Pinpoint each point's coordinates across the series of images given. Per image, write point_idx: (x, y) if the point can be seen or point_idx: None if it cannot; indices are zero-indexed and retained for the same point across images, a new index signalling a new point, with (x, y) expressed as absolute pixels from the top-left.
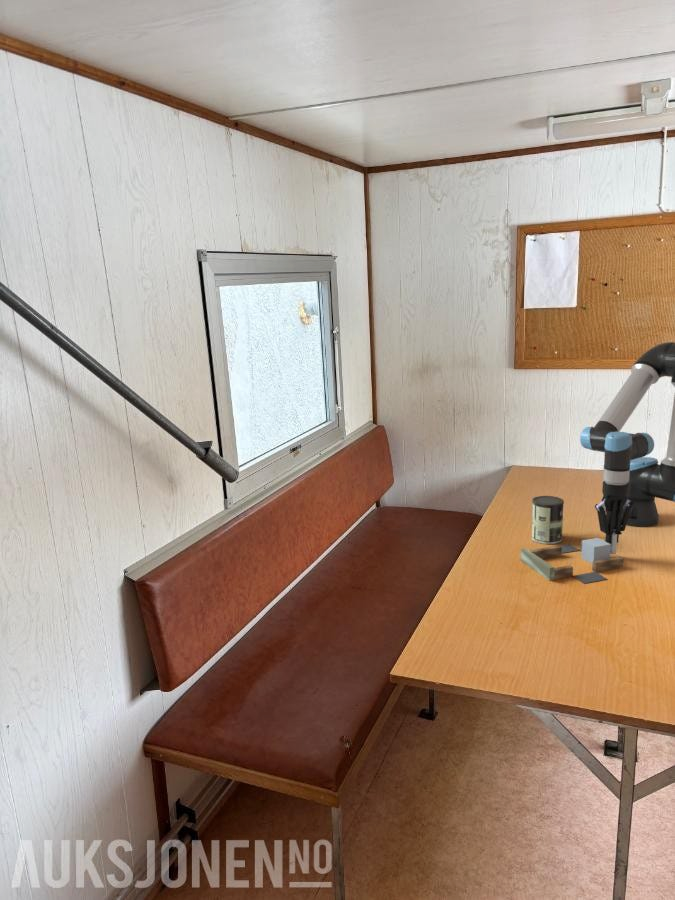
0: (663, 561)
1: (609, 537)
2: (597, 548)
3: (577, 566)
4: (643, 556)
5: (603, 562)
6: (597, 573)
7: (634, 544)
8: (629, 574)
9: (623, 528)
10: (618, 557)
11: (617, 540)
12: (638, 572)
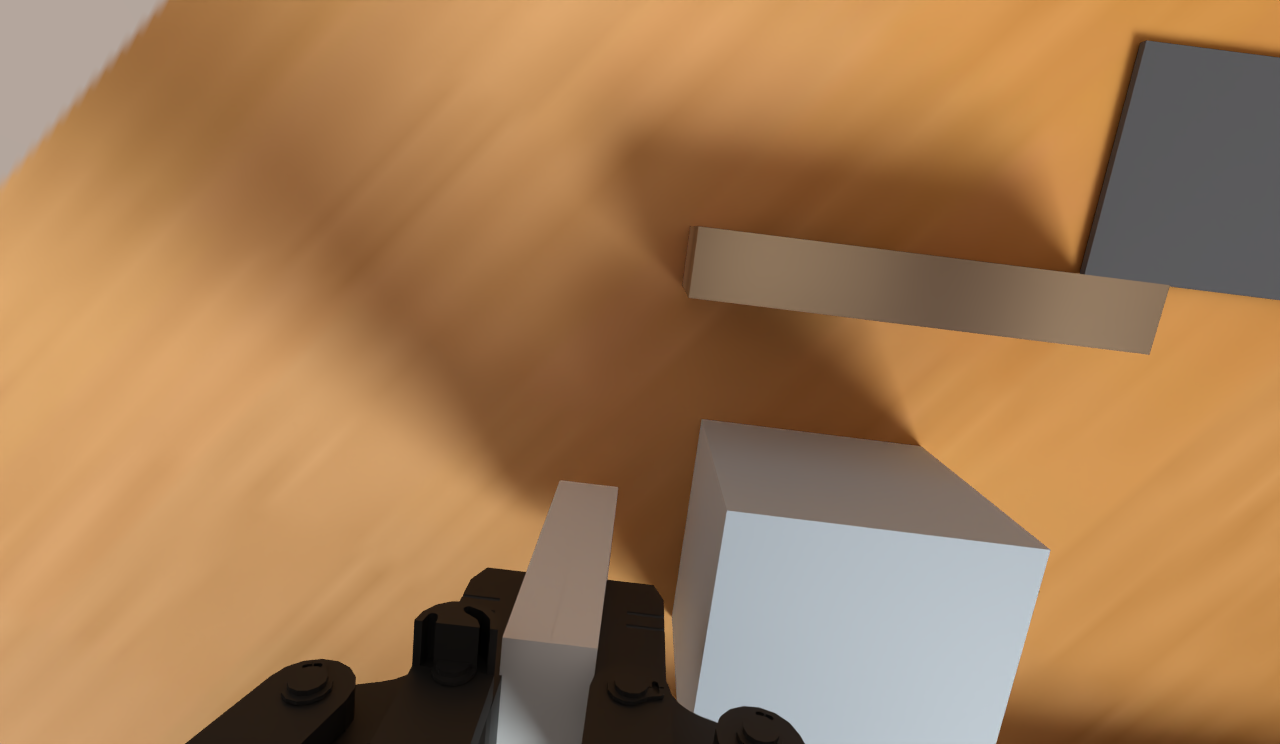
0: (122, 124)
1: (648, 654)
2: (971, 525)
3: (1105, 491)
4: (240, 351)
5: (1035, 269)
6: (1107, 224)
7: (101, 637)
8: (786, 28)
9: (297, 703)
10: (739, 285)
11: (487, 587)
12: (643, 19)
